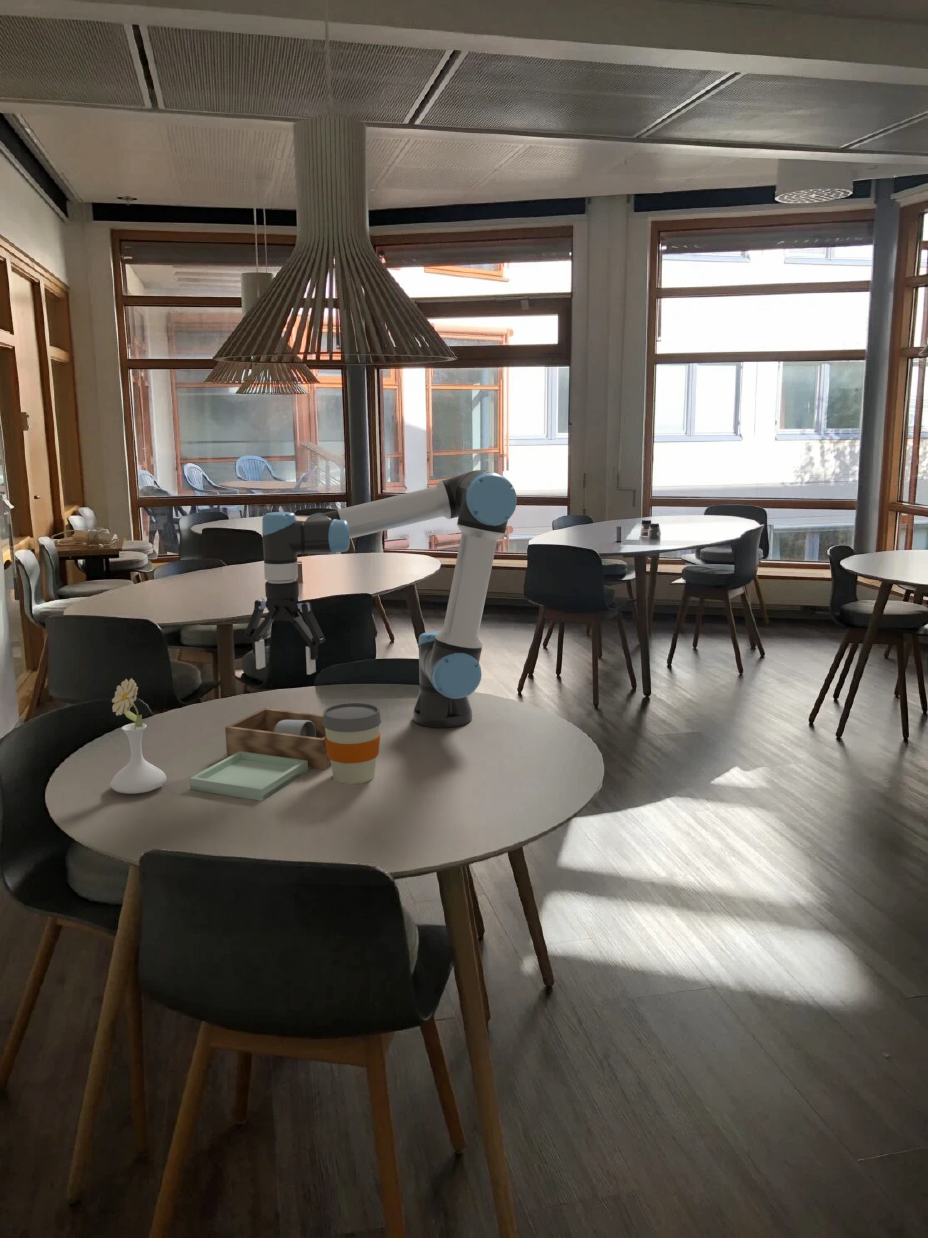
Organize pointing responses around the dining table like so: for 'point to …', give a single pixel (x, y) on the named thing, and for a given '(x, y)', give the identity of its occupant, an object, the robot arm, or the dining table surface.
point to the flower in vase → (134, 747)
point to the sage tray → (249, 775)
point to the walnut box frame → (278, 737)
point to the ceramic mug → (296, 727)
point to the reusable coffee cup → (352, 741)
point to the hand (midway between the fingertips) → (285, 670)
